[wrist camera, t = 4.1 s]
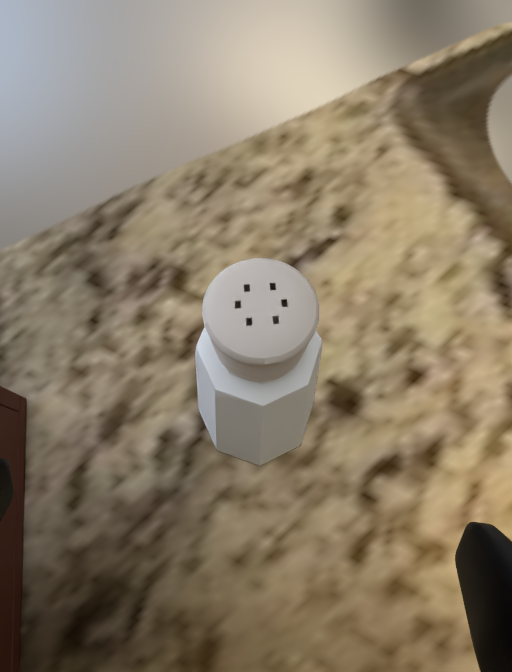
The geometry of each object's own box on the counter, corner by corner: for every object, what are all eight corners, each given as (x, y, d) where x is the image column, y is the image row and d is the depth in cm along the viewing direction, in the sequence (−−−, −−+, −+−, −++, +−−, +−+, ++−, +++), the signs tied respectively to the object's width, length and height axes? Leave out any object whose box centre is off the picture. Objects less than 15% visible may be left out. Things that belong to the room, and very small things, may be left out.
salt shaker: (307, 350, 21) (359, 205, 11) (319, 462, 19) (397, 412, 9) (198, 355, 21) (148, 213, 11) (199, 469, 19) (139, 426, 9)
